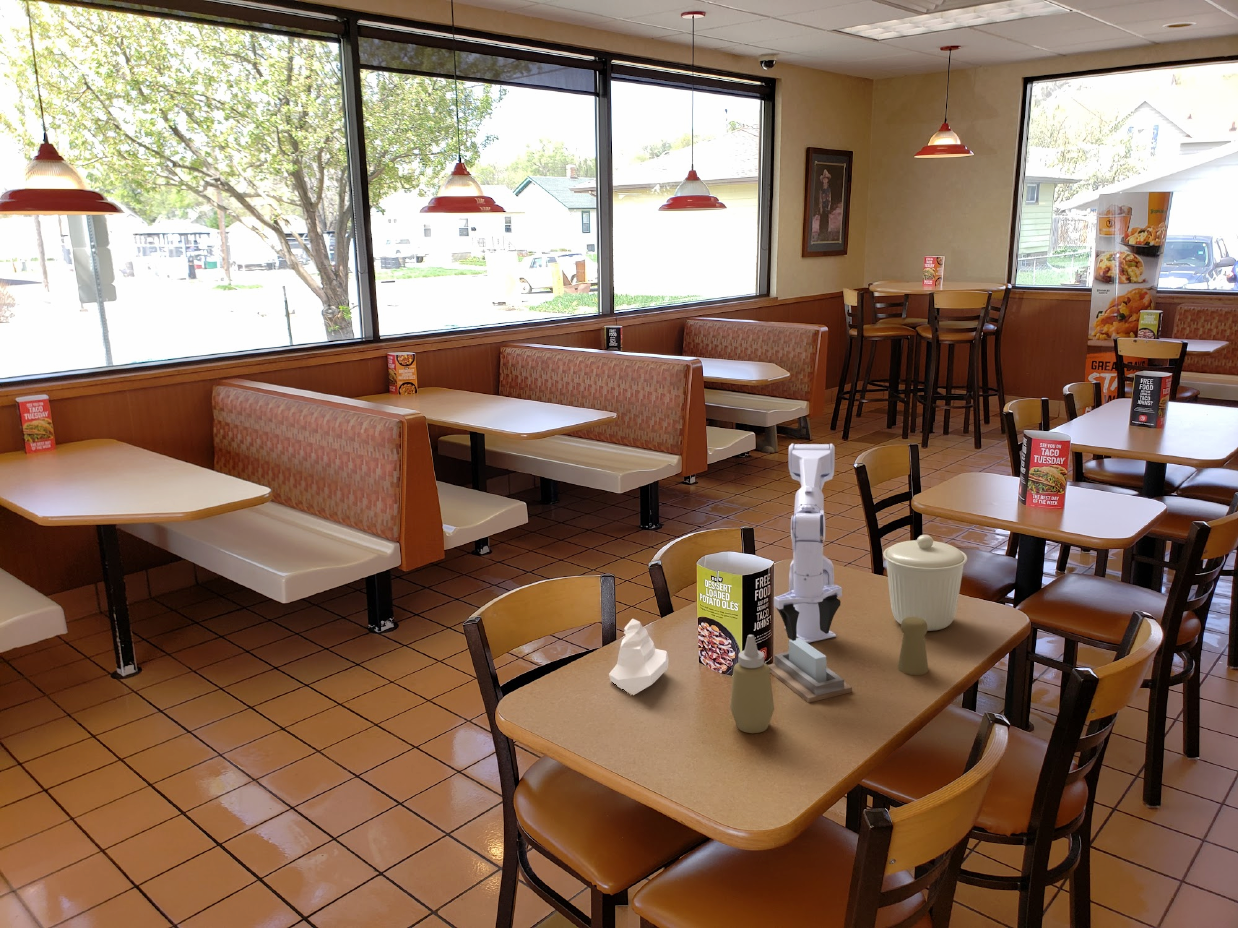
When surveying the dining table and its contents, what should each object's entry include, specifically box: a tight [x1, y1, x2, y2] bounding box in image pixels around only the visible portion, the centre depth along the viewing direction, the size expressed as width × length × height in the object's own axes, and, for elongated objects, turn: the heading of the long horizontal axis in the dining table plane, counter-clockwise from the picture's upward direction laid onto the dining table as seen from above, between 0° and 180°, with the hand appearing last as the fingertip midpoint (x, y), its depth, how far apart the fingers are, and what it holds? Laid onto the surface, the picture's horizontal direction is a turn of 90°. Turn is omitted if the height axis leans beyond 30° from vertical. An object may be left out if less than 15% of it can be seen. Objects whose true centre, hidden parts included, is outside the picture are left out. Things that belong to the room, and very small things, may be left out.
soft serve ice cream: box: [608, 618, 670, 696], centre depth 188 cm, size 12×15×14 cm
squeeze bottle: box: [729, 634, 775, 734], centre depth 167 cm, size 8×8×18 cm
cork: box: [897, 617, 929, 676], centre depth 188 cm, size 6×6×11 cm
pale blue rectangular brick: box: [788, 637, 827, 683], centre depth 185 cm, size 10×2×6 cm, turn 21°
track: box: [767, 651, 853, 703], centre depth 186 cm, size 16×10×3 cm, turn 21°
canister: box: [882, 534, 968, 632], centre depth 209 cm, size 18×18×21 cm
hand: (808, 635), depth 184 cm, fingers open, 7 cm apart
